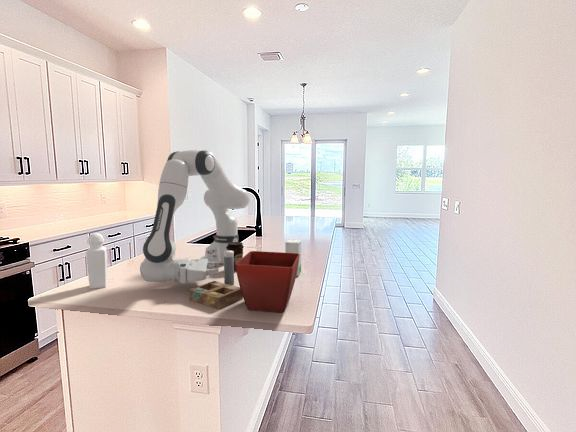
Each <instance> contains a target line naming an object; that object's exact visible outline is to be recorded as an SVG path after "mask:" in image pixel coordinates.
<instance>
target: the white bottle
mask: <svg viewBox="0 0 576 432" xmlns="http://www.w3.org/2000/svg"><path fill="white" fill-rule="evenodd" d="M104 242H105V238H104V236H103V235H102V234H101V233H98V232H94V233H91V234H90V235H89V236H88V238H87V242H86V243H87V244H88V245H89V248H88V249H87V250H86V252H85V257H86V266H87V274H88V275H87V276H88V284H89V289H90V290H93V289H94V290H95V289H102V288H106V287H107V286H108V260H107V259H108V258H107V257H108V256H107V255H108V254H107V253H108V252H107V249H108V248H107V247H106V246H103V244H104Z"/></svg>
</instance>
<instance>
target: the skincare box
mask: <svg viewBox="0 0 576 432" xmlns="http://www.w3.org/2000/svg"><path fill="white" fill-rule="evenodd" d="M284 242H285V245H284V246H285V252H284V253H298V254H300V256H299V263H298V269H297V274H296V277H299V276H300V274H301V273H302V240H301V239H288V240H286V241H284Z"/></svg>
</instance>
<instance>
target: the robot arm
mask: <svg viewBox="0 0 576 432" xmlns="http://www.w3.org/2000/svg"><path fill="white" fill-rule="evenodd" d="M191 176H192V177H193V176H200V178H201V179H202V181H203V182H204V185H205V186H206V187H207V189H206V191H205V192H204V194H203V201H204V204H205V205H206V206H207V207H208V208H209V209H210V210H211V212H212V214H213V216H214V219H215V227H216V229H215V230H216V234H215V235H214V236H212V238H213V242H211V243H210V244H209V245H208V246H207V247H206V248H205V251H204V255H202V256H201V257H200V258H195V259H191V260H190V261H189V258H188V257H187V258H175V254H176V249H177V248H176V243H175V242H174V240H172V239H171V237H170V234H171V233H170V232H171V229H172V223H173V220H174V219H173V218H174V215H175V213H176V211H177V210H178V208H180V207H181V206H182V205H183V204H184V203H185V202H184V201H185V199H186V196H187V192H188V185H189V177H191ZM157 191H158V192H157V203H156V204H157V205H156V211H155V215H154V216H155V217H154V221H153V223H152V229H151V233H150V234H149V236H148V237H147V238H146V240H145V242H144V243H143V246H142V253H143V256H144V257H145V258H144V259H143V261H142V262H141V263H140V265H139V266H140V267H139V272H140V276H141V278H142V279H143V281H145V282H148V283H164V282H165V283H166V282H168V281H173V282H179V283H180V284H187V283H189V282H190V283H191V282H200V281H205V280H206V279H207V276H212V275H214V274H216V275H217V274H220V272H219V267H220V265H222V264H223V265H224V251H227V249H226V247H227V246H228V243H231V242H239V234H238V220H237V218H236V217H235V216H233V215H232V214H231V212H230V210H240V209H245V208H247V206H248V205H249V203H250V194H249V192H248V191H247V190H246V189H243V188H242V187H240V186H238V185H237V184H236V183H235V182H233V180H231V179H230V178H229V177H228V175H227V174H226V172H225V170H224V168H223V167H222V164H221V163H220V161H219V160H218V159H217V157H216V156H215V155H214V154H213V152H212V151H210V150H207V149H204V150H197V149H193V150H192V149H190V150H189V149H188V150H180V151H179V150H177V151H174V152H172V153H170V154H169V155H168V157H167V160H166V162H165V163H164V167H163V169H162V172H161V175H160V178H159V183H158V190H157ZM210 268H211V269H210Z"/></svg>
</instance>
